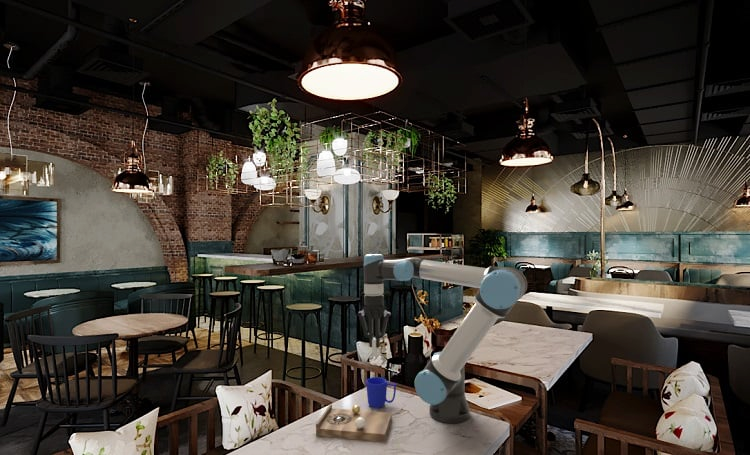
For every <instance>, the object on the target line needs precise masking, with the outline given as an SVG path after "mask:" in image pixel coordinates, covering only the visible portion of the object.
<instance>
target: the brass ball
mask: <svg viewBox="0 0 750 455" xmlns="http://www.w3.org/2000/svg"><path fill="white" fill-rule="evenodd" d="M351 410H352V412H353V413H354V414H358V413H359V412H360V411H361V407H360V406H359V405H357V404H355V405H353V406H352V407H351Z"/></svg>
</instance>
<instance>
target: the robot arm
mask: <svg viewBox="0 0 750 455" xmlns="http://www.w3.org/2000/svg"><path fill="white" fill-rule="evenodd" d="M412 278H415V279H416V278H417V279H423V280H429V281H434V282H441V283H446V284H447V283H448V284H451V285H452V284H454V285H457V286H463V287H469V288H474V289H478V290H477V292H476V293H475V295H474V300H475V303H474V305H473V306H472V307H471V308H470V309H469V310H470V311H469V312H468V313H467V314H466V316H465V317H464V319H463V320H462V321H461V323H460V325H459V326H458V327H457V328H456V330H455V331H454V333H453V335H452V336H451V337H450V339H449V340H448V341H447V343H446V344H445V346H444V348H443V349H442V351H438V352H434V353H433V356H431V358H430V360H429V361H428V362H427V364H426V366H425V367H424V369H423V370H421V371H419V372H418V373H417V375H416V377H415V379H414V388H415V392H416V394H417V396H418V397H419V399H420V400H422V401H423V402H424V403H426V404H428V405H429V415H430V417H431V418H432V419H434V420H435V421H438V422H441V423H445V424H459V423H464V422H466V421H468V420H469V419H470V415H471V412H470V411H471V410H470V406H469V404H468V400H467V397H466V392H465V388H466V386H465V380H466V379H465V378H466V377H465V365H466V363H467V362H468V361H469V359H470V358H471V357H472V355H473V354H474V352H475V351H476V349H477V348H478V347H479V346H480V344H481V342H482V341H483V340H484V339H485V337H486V336H487V334H488V333H489V331H490V330H491V329H492V327H493V326H494V325H495V323H496V322H497V320H499V319H504V318H506V317H507V316H508V314H509V313H510V312H511V310H512V308H514V306H515V305H516V303H517V302H518V301H519V300H520V299H522V298H523V297H524V296H525V294H526V292H527V289H528V281H527V278H526V276H525V275H524V273H523V272H522V271H521V270H518V269H517V268H515V267H512V266H511V267H509V266H504V267H503V266H492V265H489V267H487V268H486V267H479V266H474V265H473V266H472V265H466V264H465V265H463V264H458V263H452V262H451V263H450V262H443V261H442V262H441V261H435V260H428V259H421V258H420V257H413V256H412V257H408V258H402V259H384V255H383V254H378V253H374V254H372V253H368V254H365V255H364V257H363V283H364V284H363V293H364V297H363V298H364V299H363V300H364V305H363V309H362V310H360V311H358V312H357V316H358V318H359V319H360V324H361V327H362V328H361V329H362V332H363V335H364V338H368V340H369V341H368V342H369V348H371V356H372V357H375V358H376V357H377V356H378V348H380V345H381V342H380V341H381V340H380V339H382V338H384V337H385V334H386V330H387V325H388V321H389V318H390V316H391V315H392V314H391V312H390V311H387V310H386V308H385V302H384V301H385V296H384V292H385V291H384V290H385V288H384V281H386V280H387V281H389V280H390V281H400V282H405V281H410V280H411V279H412ZM365 315H366V317H367V318H368V326H367V322H366V317H365ZM382 316H383V317H384V318H383V322H382V328H381V327H380V326H381V324H380V322H381V321H380V319H381V317H382ZM374 320H375V321H374ZM374 322H375V323H374ZM374 324H375V337H374Z"/></svg>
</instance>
